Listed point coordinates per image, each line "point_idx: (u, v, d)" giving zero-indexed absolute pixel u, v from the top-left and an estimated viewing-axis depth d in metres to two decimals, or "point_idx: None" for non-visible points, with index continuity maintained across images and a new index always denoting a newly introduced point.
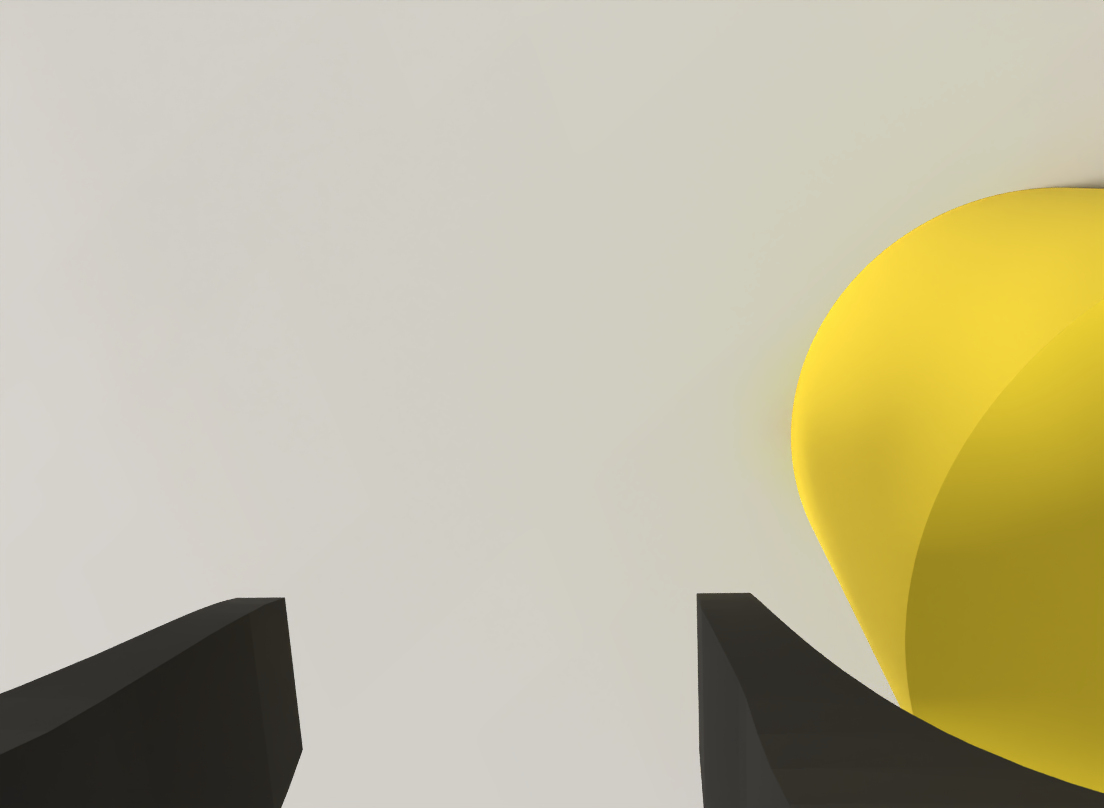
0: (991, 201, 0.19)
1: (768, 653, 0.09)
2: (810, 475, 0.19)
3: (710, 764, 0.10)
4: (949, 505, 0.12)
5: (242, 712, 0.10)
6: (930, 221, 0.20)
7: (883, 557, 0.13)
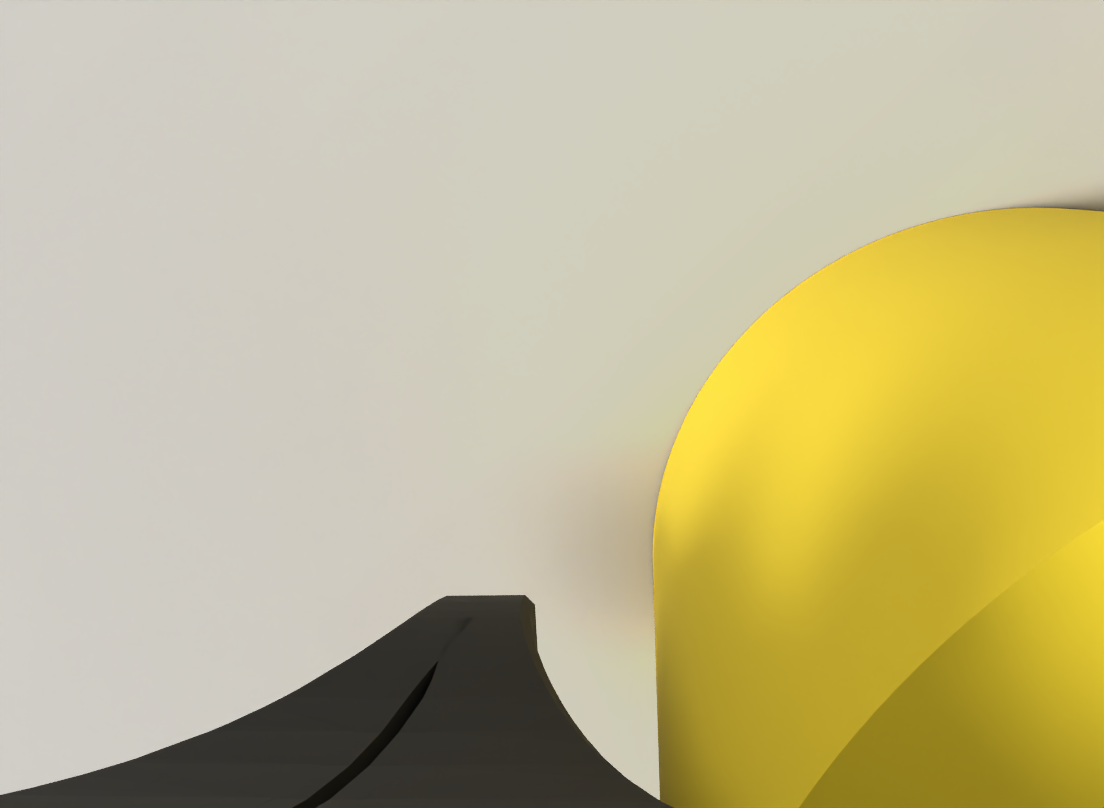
0: (935, 229, 0.12)
1: (481, 654, 0.09)
2: None
3: None
4: None
5: None
6: (847, 257, 0.13)
7: None
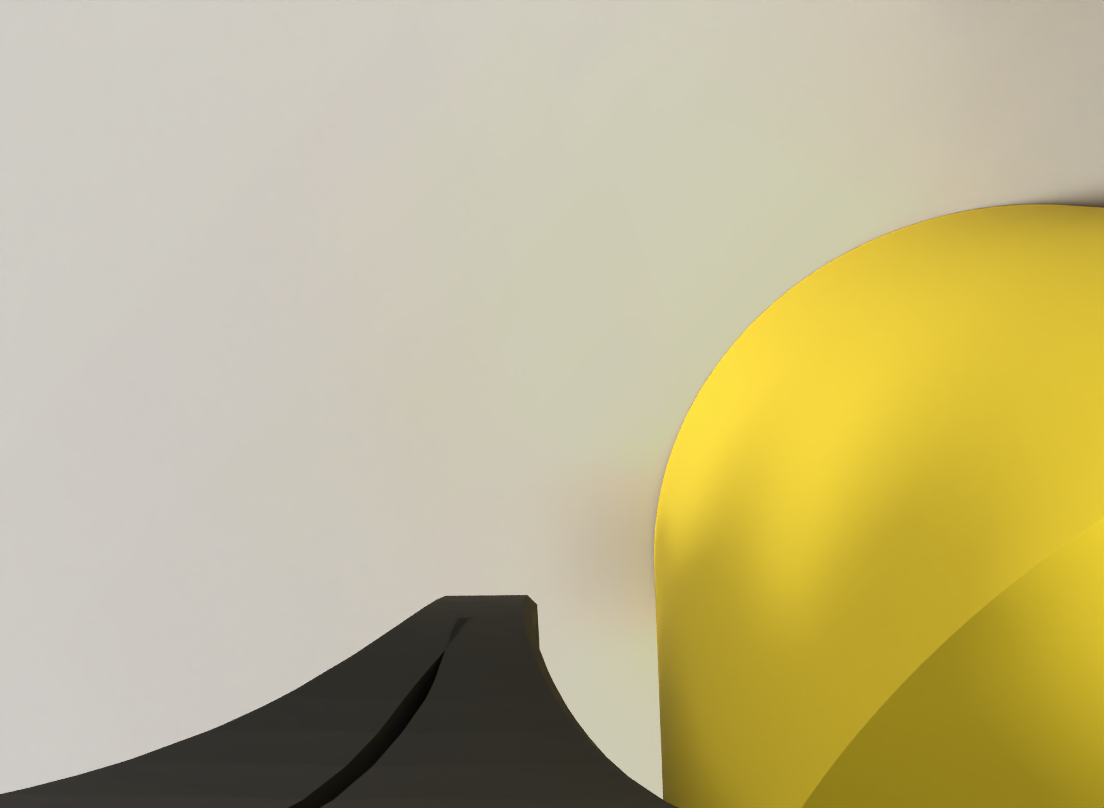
0: (935, 226, 0.12)
1: (483, 654, 0.09)
2: None
3: None
4: None
5: None
6: (847, 254, 0.13)
7: None
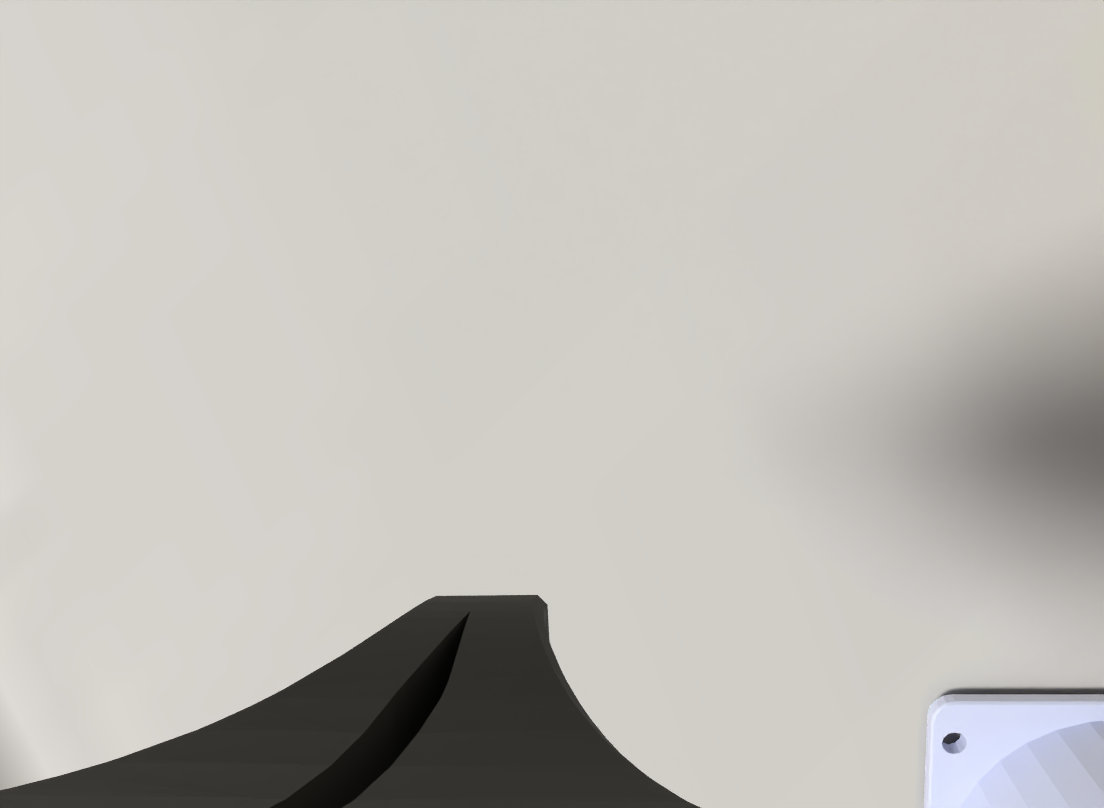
0: None
1: (497, 654, 0.09)
2: None
3: None
4: None
5: None
6: None
7: None
